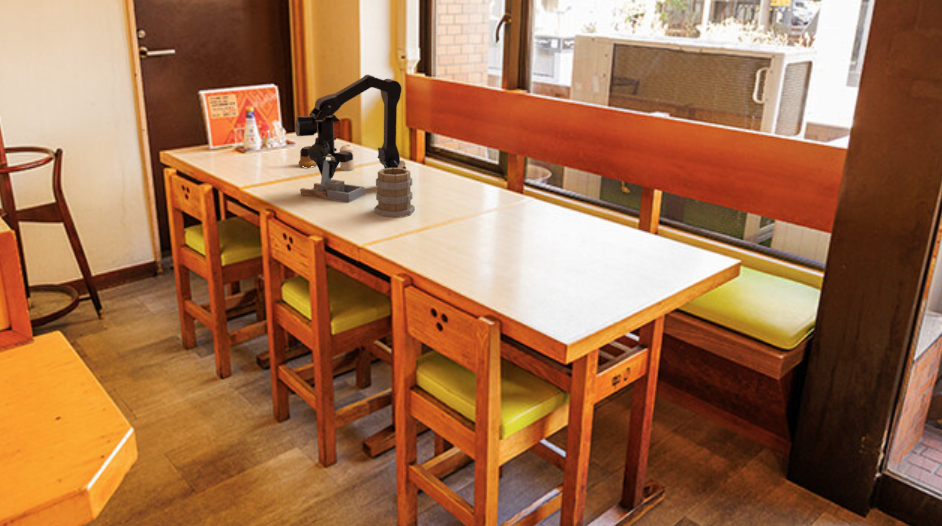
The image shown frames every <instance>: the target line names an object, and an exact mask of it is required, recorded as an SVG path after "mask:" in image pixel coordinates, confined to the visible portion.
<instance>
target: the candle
mask: <svg viewBox="0 0 942 526" xmlns="http://www.w3.org/2000/svg"><path fill="white" fill-rule="evenodd" d="M341 151H348V152H351V153H352V154H353V160H350V161H348V162H344V163H343V162H340V163H339V164H340V171H344V170H345V171H346V170H347V171H346V172H348V171H354V170H355V158H354V156H355V153H354V152H355V151H354V148H353V146H352V145H351V144H343V145H342V146H341V147H339V152H341Z"/></svg>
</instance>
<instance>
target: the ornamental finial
mask: <svg viewBox="0 0 942 526" xmlns="http://www.w3.org/2000/svg"><path fill="white" fill-rule="evenodd" d="M305 147H307V146H305ZM300 151H301V149H300ZM299 158H300V159H299V161H298V166H299V165H300V166H304V167H311V166H315V167H316V166H317V164H316V163H315V162H314V161H313V160H311V159H310V157H309V156H308V157H303V156H300V155H299ZM300 166H299V167H300Z"/></svg>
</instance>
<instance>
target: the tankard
mask: <svg viewBox="0 0 942 526" xmlns="http://www.w3.org/2000/svg"><path fill="white" fill-rule="evenodd" d="M403 167H406V162H405V161H404V160H400V163H399V165H398V167H397V168H386V169H385V168H381V169H380V170H378V172H377V178H376V179H375V186H376V187H377V192H376V193H375V196H376V197H375V200H376V201H377V202H378V204H377V205H376V206H375V207H374V208H373V209H374V210H373V211H374V212H375V214H378V215H379V216H381V217H386V216H387V217H386V218H401V217H400V216H402V217H407V216H406V215H408V216H411V215H412V214H413V213H414V212H415V209H416V208H415V207H416V206H415V205H413V204H411V201H412V200H413V192H412V191H411V186H413V178H412V177H411V170H409V169H407V168H406V169H404V168H403Z"/></svg>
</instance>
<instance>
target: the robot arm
mask: <svg viewBox="0 0 942 526" xmlns="http://www.w3.org/2000/svg"><path fill="white" fill-rule="evenodd" d="M371 88H373V89H377V90H379V91H380V96H381V99H382V102H383V142H382V145H381V147H377V150H378V155H377V158H378V159H379V163H380V164H381V165H382V166H383V167H384V168H383V169H386V168H397V167H398V165H399V163H400V161H401V159H400V158H401V157H400V153H399V150H398V147H397V118H398V117H397V111H398V110H397V109H398V108H397V106H398V103H399V101H400V99H401V95H402V84H401V83H400V82H399V81H397V80H394V79H391V78H384V79H382V78H378V77H375V76H374V75H371V74H365V75H364V76H362V77H361V78H360V79H357V80H356V81H354V82H352V83H351V84H349V85H347V86H346V87H344V88H342V89H340V90H339V91H336V92H335V93H331V94H326V95H324V96H321V97H319V98H317V99H316V101H315V102H314V107H313V109H312V110H311V111H310V113H309V115H307V116H305V115H304V116H303V115H302V116H301V115H296V120H295V124H294V131H295V135H296V137H308V136H309V137H310V136H314V135H315V134H317V137H315V140H314V141H315V142H314V144H313V143H312V145H308V146H307V147H306V146H303V147H302V148H301V149H300V150H301V151H300V152H299V154H300V155H299V157H300V156H303V157H308V156H309V157H310V159H311V160H313V161H314V162H315V163H316V164H317V165H316V166H317V168H318V170H319V174H320V175H321V177H322V171H323V164H324V161H325V160H327V157H328V158H330V159H328V160H329V161H327V162H328V164H329V175H330V179H331V180H332V179H333V177H334V176H335V173H336V171H337V168H338V166H339V164H340V162H343V163H344V162H348V161H350V160H353V154H352V153H351V152H348V151H341V152H340V151H339V152H337V151H338V150H337V147H335V141H336V140H337V136H335V123H337V122H338V123H339V122H340V121H341V120H340V119H339V118H338V117H337V116H336V115H335V113H336V112H338V111H339V110H340V108H341V107H342V106H343V105H344V104H345V103H347V102H349V101H350V100H352V99H354V98H355V97H357V96H360V94H362V93H363V92H366V91H367V90H369V89H371ZM403 168H404V169H406V170H407V167H406V166H405V167H403Z"/></svg>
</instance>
